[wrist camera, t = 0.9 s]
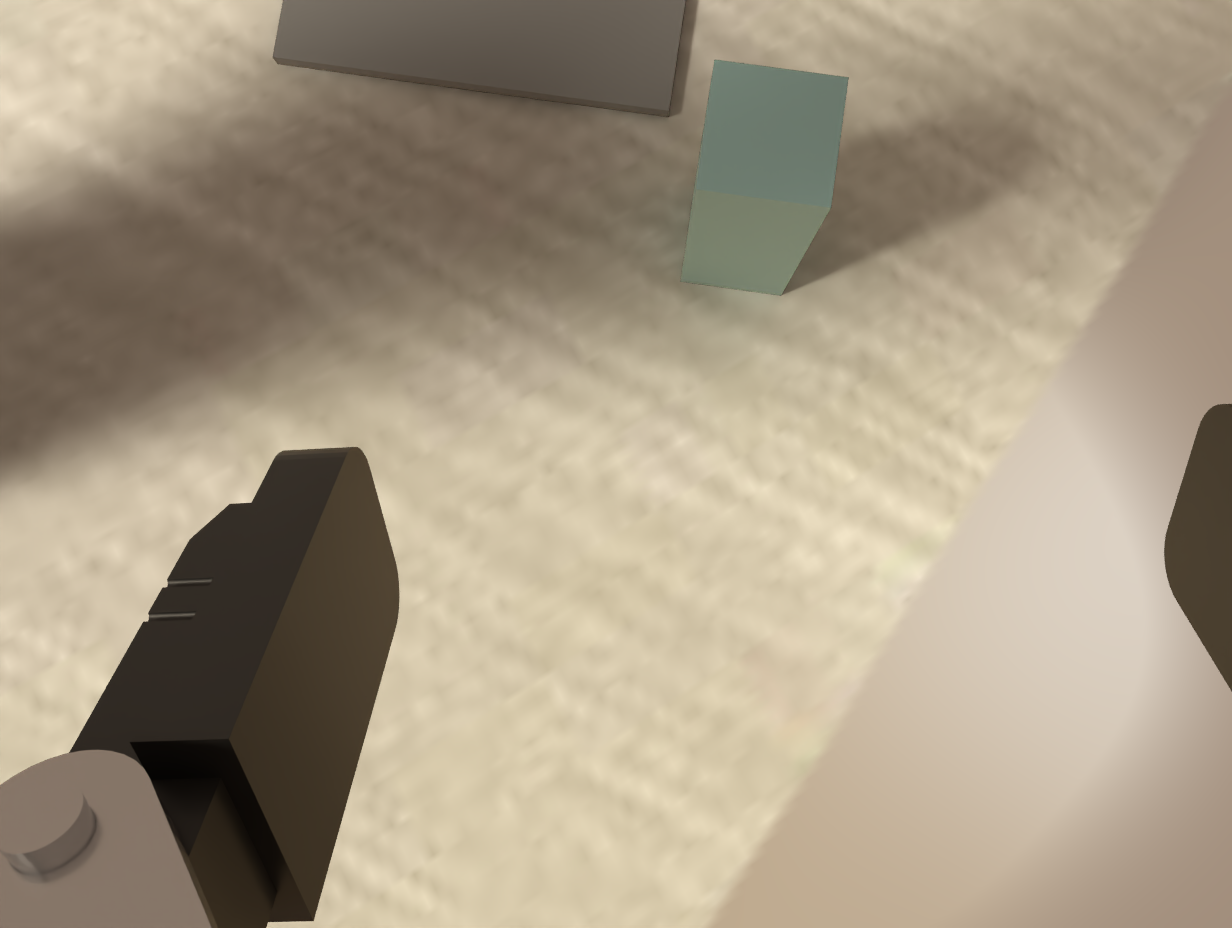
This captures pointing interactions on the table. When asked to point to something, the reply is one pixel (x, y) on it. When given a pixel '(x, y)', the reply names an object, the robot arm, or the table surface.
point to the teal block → (762, 175)
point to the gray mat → (497, 46)
